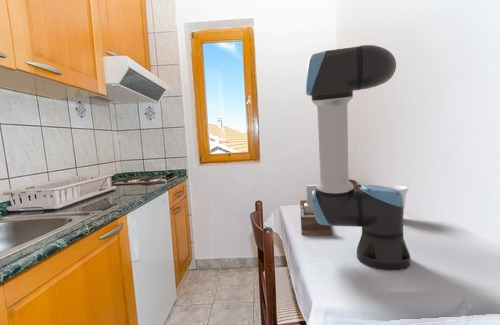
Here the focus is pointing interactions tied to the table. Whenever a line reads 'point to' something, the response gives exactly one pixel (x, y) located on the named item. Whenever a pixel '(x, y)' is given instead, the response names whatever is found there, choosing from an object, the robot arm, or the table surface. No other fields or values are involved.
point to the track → (312, 223)
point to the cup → (401, 189)
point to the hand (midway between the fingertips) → (332, 153)
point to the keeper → (309, 199)
